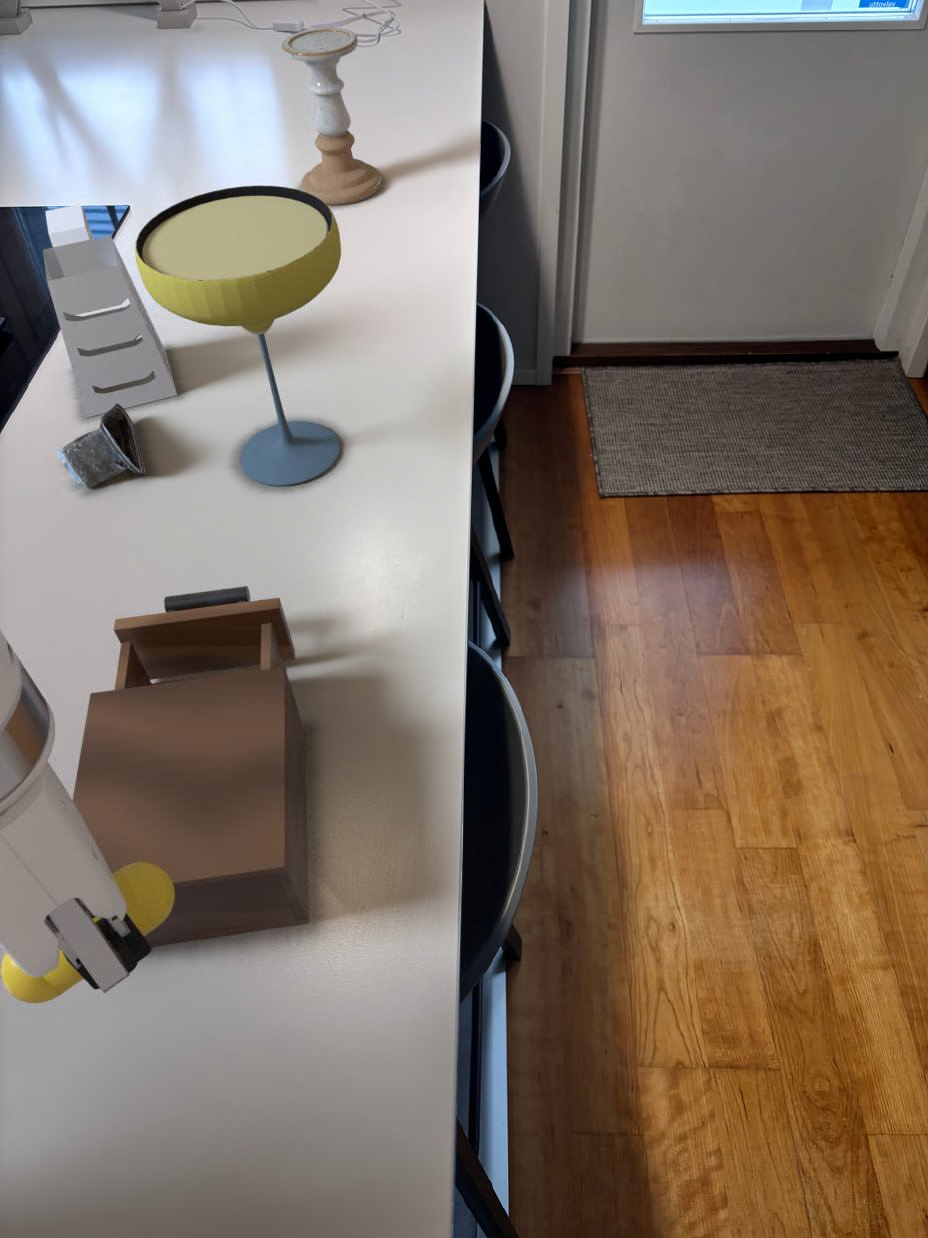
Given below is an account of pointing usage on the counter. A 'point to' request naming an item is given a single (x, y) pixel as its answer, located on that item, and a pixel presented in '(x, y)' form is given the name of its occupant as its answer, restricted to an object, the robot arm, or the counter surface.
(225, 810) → the cabinet
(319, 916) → the counter surface
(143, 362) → the grater
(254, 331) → the cocktail glass
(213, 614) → the drawer
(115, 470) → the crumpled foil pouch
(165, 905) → the yellow pill capsule
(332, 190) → the candle holder
